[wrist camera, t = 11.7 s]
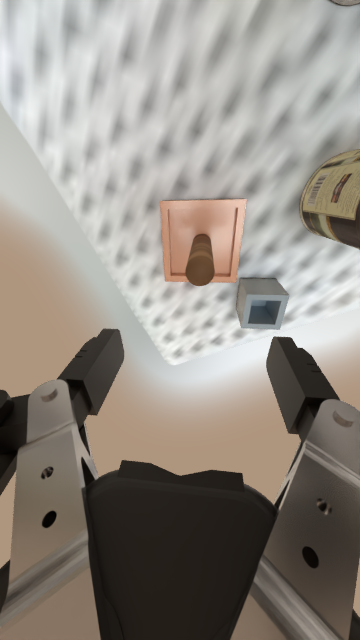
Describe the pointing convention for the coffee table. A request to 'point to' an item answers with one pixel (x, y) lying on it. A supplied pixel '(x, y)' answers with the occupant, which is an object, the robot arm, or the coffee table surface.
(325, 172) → the coffee can
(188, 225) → the tray
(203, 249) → the dowel
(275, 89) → the coffee table surface
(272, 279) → the holder
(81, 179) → the coffee table surface
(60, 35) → the coffee table surface
